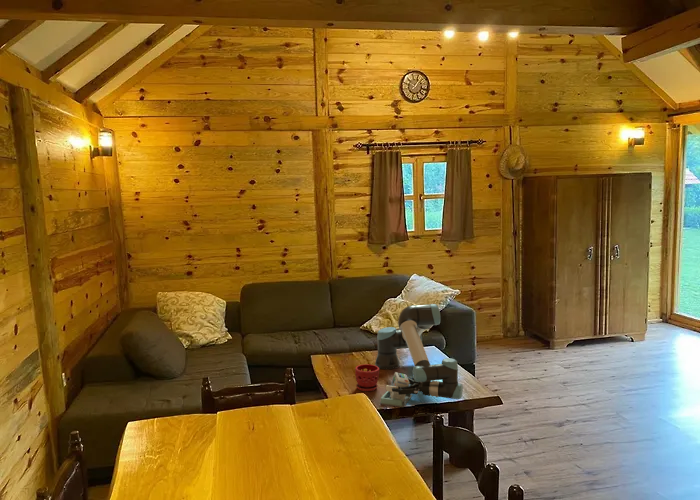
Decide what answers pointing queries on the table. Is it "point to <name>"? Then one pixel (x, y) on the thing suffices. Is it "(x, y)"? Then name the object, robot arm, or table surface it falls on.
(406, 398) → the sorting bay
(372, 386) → the plant pot
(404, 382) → the light bulb box
